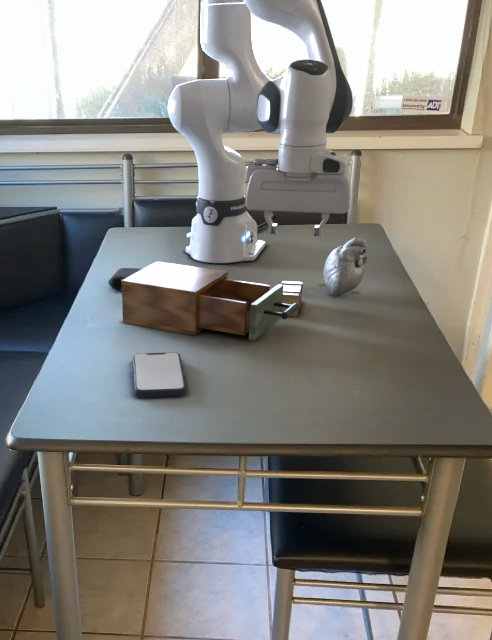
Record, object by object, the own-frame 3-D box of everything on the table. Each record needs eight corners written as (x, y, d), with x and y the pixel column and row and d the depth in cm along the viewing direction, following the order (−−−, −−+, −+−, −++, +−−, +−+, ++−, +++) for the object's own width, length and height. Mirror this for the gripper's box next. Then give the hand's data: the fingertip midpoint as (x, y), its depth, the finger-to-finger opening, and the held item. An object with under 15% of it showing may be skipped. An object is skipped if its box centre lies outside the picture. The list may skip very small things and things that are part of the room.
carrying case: (105, 292, 183) (169, 296, 180) (104, 279, 181) (169, 282, 178) (117, 278, 192) (178, 281, 189) (117, 265, 190) (179, 268, 187)
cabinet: (226, 312, 171) (228, 271, 166) (194, 335, 160) (195, 292, 155) (157, 301, 178) (156, 261, 173) (122, 322, 167) (121, 280, 163)
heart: (323, 280, 185) (326, 228, 177) (365, 283, 182) (371, 231, 174) (314, 302, 179) (318, 249, 170) (359, 305, 176) (364, 252, 167)
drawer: (304, 322, 162) (307, 288, 158) (278, 344, 153) (281, 309, 149) (211, 307, 171) (212, 274, 167) (182, 327, 162) (182, 293, 158)
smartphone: (187, 398, 137) (180, 359, 150) (187, 389, 136) (180, 351, 149) (134, 399, 137) (132, 361, 150) (134, 391, 136) (132, 353, 149)
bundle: (281, 301, 176) (282, 279, 173) (301, 302, 175) (303, 280, 172) (275, 315, 168) (277, 293, 166) (297, 316, 167) (299, 294, 165)
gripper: (244, 161, 155) (240, 236, 163) (354, 163, 150) (345, 241, 158) (249, 155, 160) (245, 228, 168) (356, 157, 155) (347, 232, 163)
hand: (294, 234), depth 163 cm, fingers open, 8 cm apart
